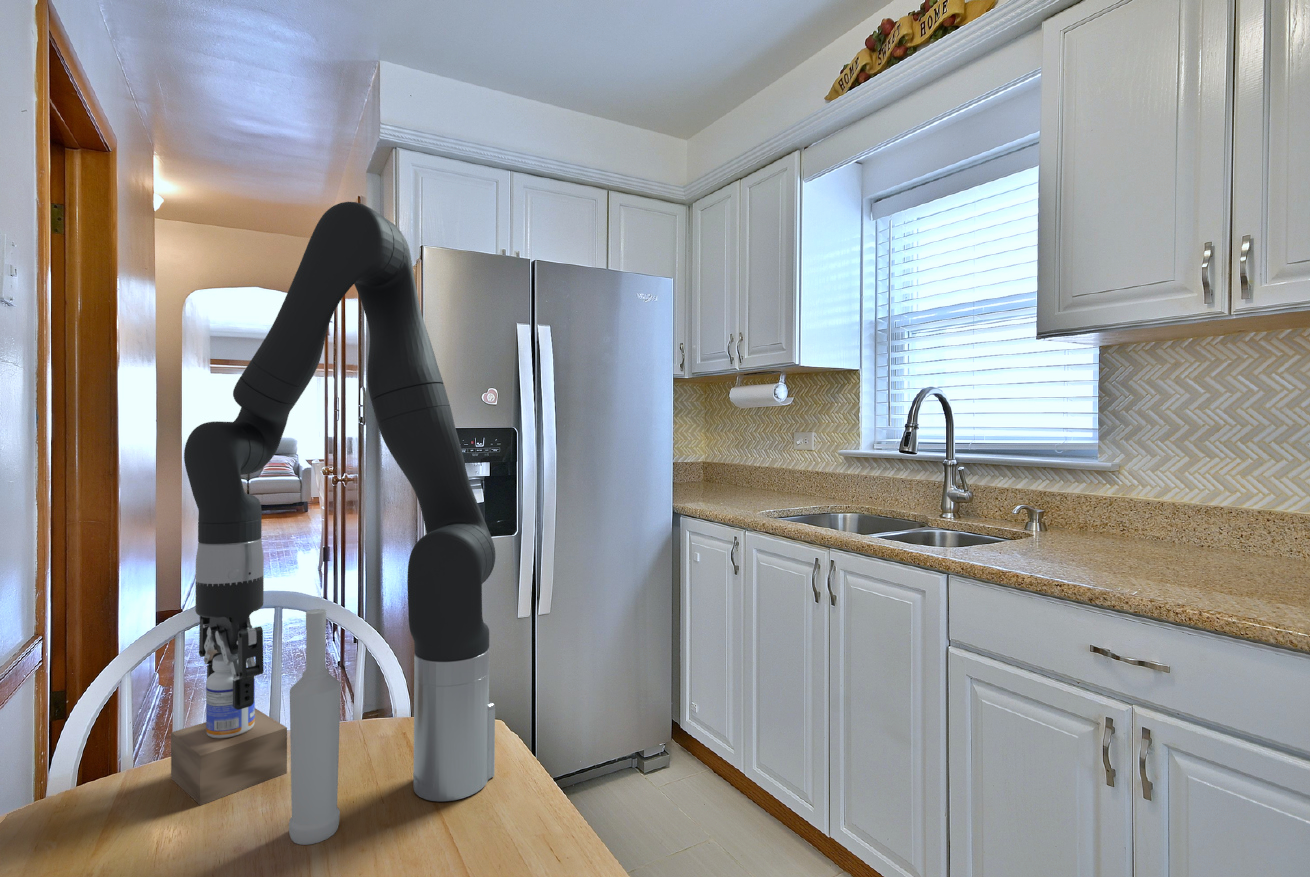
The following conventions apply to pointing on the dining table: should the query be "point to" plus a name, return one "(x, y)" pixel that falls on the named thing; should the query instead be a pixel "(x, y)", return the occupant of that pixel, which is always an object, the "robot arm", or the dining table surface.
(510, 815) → the dining table surface
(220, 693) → the pill bottle
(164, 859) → the dining table surface
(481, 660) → the robot arm
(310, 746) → the bottle
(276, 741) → the walnut block
